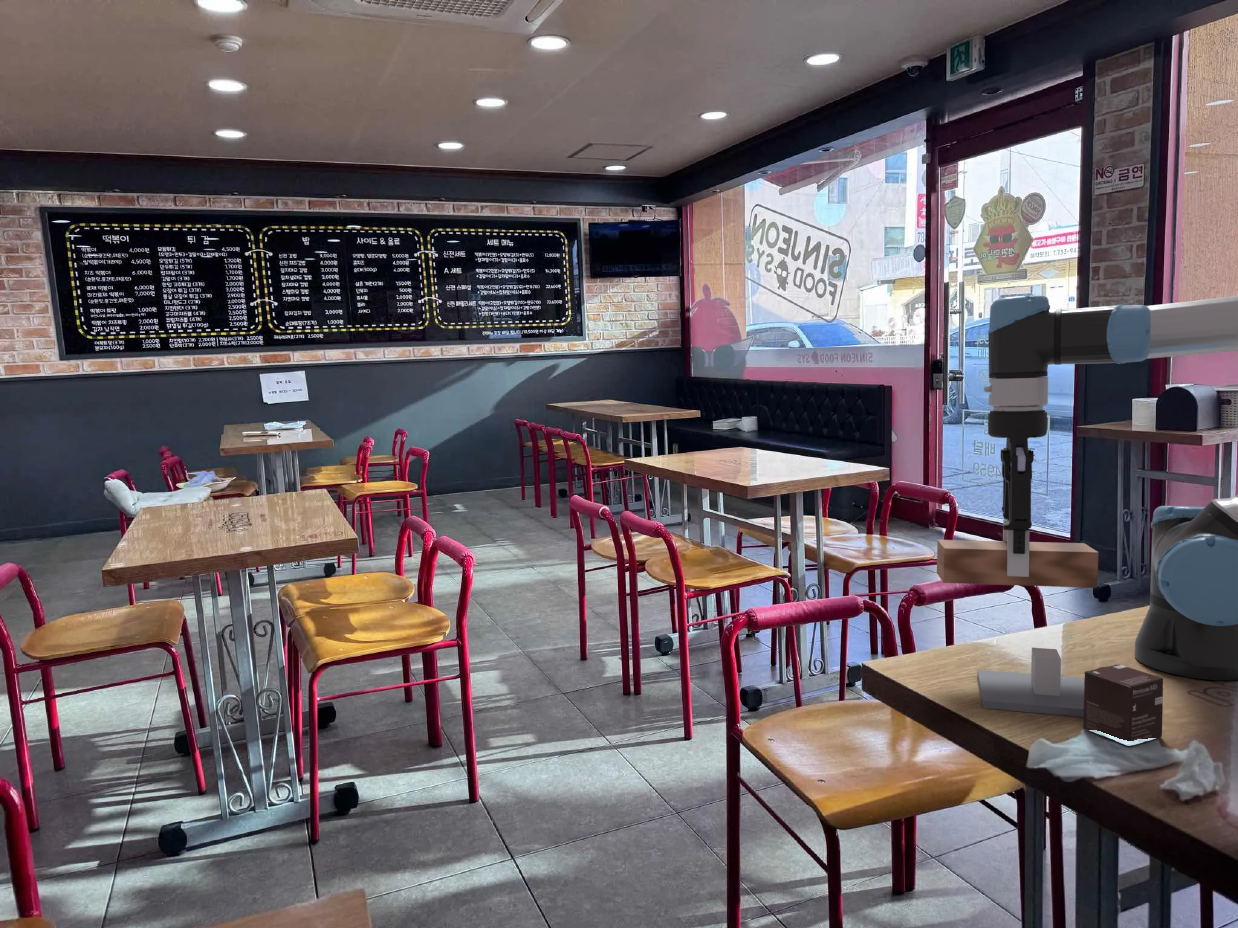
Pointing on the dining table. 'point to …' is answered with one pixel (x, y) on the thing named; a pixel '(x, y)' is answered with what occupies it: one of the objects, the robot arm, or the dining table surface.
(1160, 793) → the dining table surface
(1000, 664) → the dining table surface
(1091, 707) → the box
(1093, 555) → the cherry bar
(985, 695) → the fulcrum
